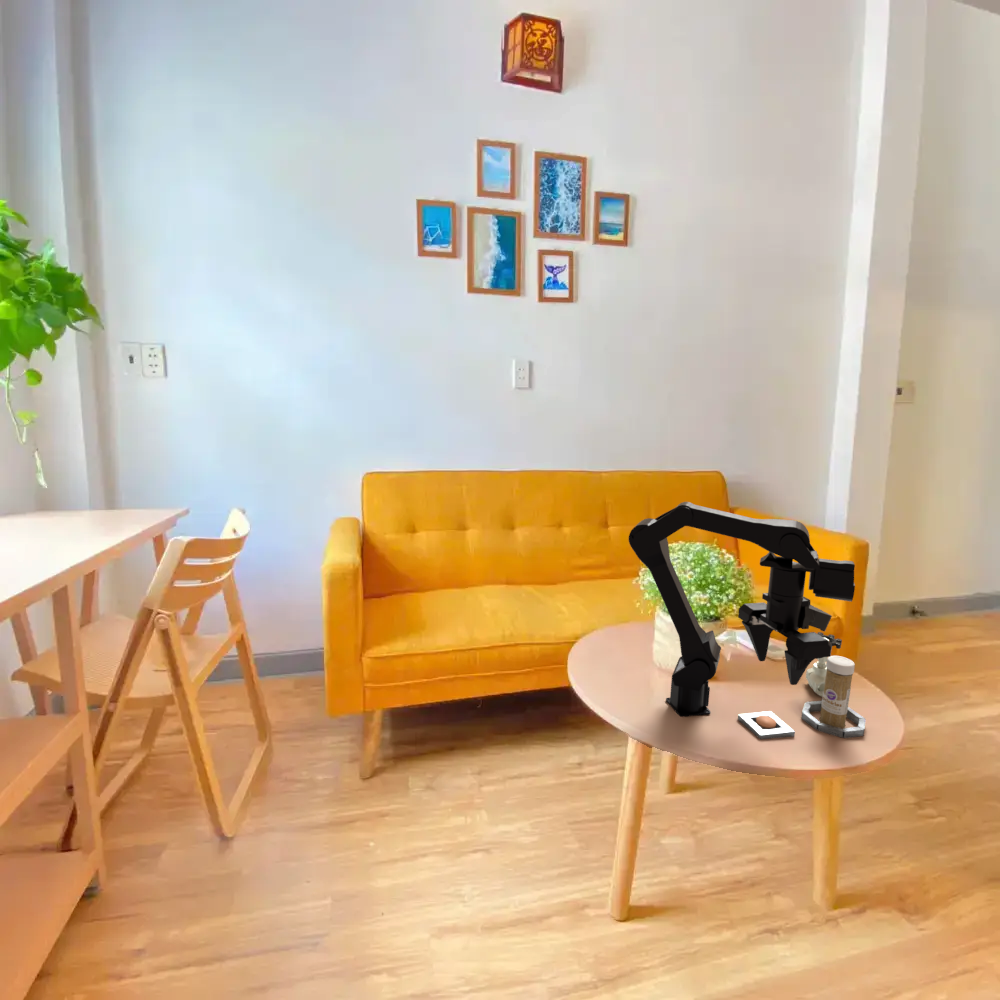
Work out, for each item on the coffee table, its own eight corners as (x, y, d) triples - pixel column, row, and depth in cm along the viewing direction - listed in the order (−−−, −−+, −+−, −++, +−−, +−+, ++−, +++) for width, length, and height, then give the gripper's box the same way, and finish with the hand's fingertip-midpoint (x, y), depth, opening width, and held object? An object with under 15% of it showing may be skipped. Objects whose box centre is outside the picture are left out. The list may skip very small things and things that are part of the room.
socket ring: (828, 743, 109) (829, 733, 109) (790, 712, 119) (791, 703, 119) (877, 737, 111) (878, 727, 111) (836, 707, 121) (837, 698, 121)
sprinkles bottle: (816, 725, 115) (824, 660, 112) (822, 715, 118) (830, 652, 116) (842, 734, 112) (852, 668, 109) (848, 724, 115) (857, 659, 113)
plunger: (762, 737, 110) (763, 726, 110) (751, 727, 114) (752, 716, 113) (778, 735, 111) (780, 724, 110) (767, 725, 114) (768, 714, 114)
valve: (806, 696, 125) (812, 643, 123) (797, 681, 132) (803, 630, 129) (840, 700, 124) (847, 646, 122) (829, 684, 130) (836, 633, 128)
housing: (759, 745, 108) (760, 735, 108) (737, 723, 115) (738, 714, 115) (793, 741, 110) (795, 731, 109) (769, 720, 116) (770, 710, 116)
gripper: (865, 608, 99) (853, 694, 102) (791, 573, 117) (783, 647, 120) (805, 612, 97) (795, 699, 100) (740, 576, 115) (733, 651, 118)
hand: (777, 672), depth 110 cm, fingers open, 9 cm apart
